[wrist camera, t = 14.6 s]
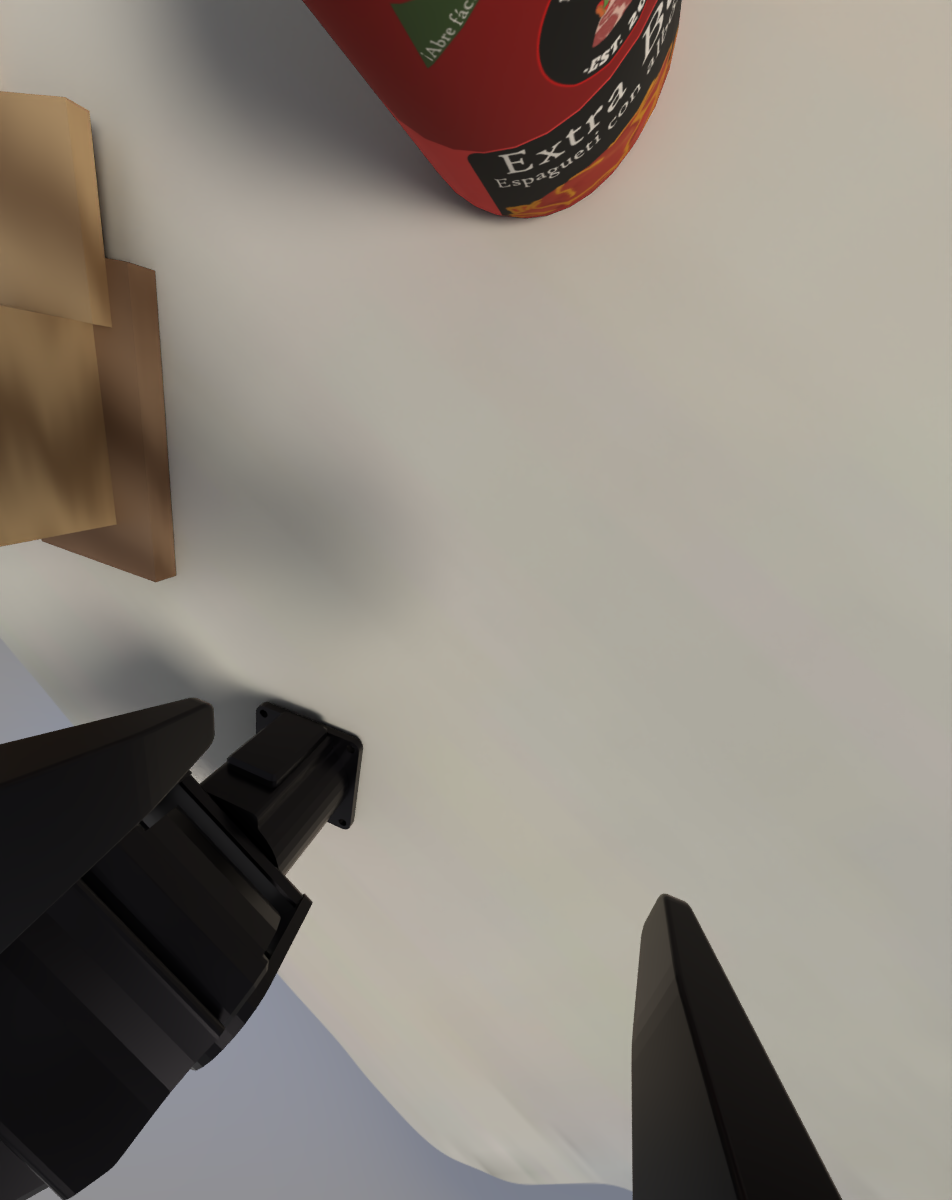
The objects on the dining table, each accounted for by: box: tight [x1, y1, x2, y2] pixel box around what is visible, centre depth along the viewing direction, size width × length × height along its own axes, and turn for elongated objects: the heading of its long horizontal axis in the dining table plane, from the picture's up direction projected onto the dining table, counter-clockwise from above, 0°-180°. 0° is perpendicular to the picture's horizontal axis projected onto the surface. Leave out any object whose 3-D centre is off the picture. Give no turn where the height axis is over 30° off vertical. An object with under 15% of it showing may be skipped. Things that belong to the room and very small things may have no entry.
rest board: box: [0, 258, 176, 582], centre depth 23 cm, size 14×8×1 cm, turn 168°
